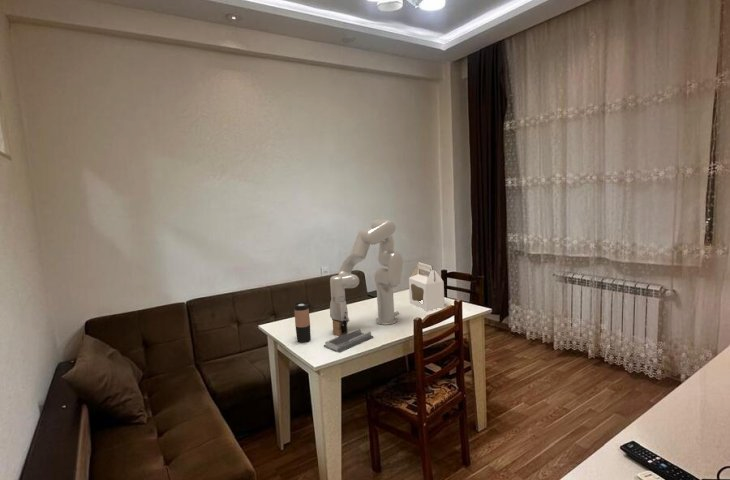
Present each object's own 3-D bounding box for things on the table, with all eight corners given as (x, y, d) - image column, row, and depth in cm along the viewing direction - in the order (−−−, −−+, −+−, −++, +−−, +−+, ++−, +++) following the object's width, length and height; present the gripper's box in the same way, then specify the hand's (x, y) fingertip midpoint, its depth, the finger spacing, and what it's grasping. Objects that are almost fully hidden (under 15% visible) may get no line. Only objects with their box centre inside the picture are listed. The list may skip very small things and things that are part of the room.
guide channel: (357, 332, 213) (357, 327, 212) (373, 337, 204) (373, 332, 204) (323, 346, 196) (323, 341, 195) (339, 352, 187) (339, 347, 187)
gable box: (409, 302, 263) (407, 262, 259) (426, 299, 268) (424, 259, 264) (426, 311, 242) (425, 267, 239) (444, 308, 247) (443, 264, 244)
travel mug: (297, 338, 209) (294, 302, 206) (311, 337, 209) (308, 301, 207) (296, 344, 201) (293, 306, 199) (310, 342, 202) (308, 305, 199)
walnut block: (341, 331, 216) (340, 317, 215) (347, 333, 212) (346, 319, 211) (333, 334, 211) (332, 320, 210) (339, 336, 208) (338, 322, 207)
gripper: (322, 297, 213) (325, 329, 215) (343, 302, 201) (346, 336, 203) (333, 294, 218) (335, 325, 220) (354, 299, 206) (356, 332, 208)
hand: (340, 330), depth 212 cm, fingers closed on walnut block, 5 cm apart
